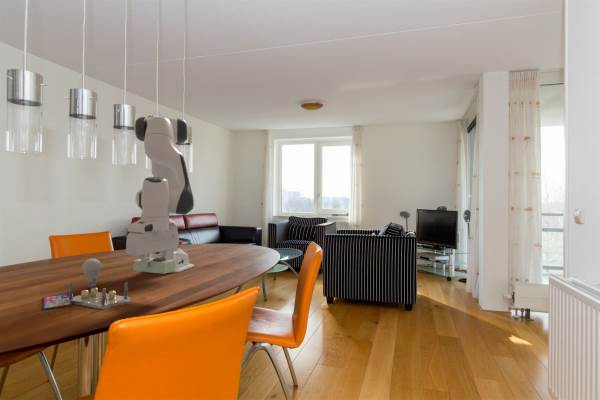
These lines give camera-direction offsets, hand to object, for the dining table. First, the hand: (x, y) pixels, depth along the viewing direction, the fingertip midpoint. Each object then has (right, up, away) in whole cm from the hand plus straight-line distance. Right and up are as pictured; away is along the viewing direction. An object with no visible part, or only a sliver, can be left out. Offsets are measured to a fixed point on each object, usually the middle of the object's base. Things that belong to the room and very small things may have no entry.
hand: (154, 265), depth 115 cm
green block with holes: (0, -2, 0) cm, 2 cm away
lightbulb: (-28, -11, +11) cm, 32 cm away
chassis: (-16, -11, -5) cm, 20 cm away
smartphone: (-28, -11, -7) cm, 31 cm away
